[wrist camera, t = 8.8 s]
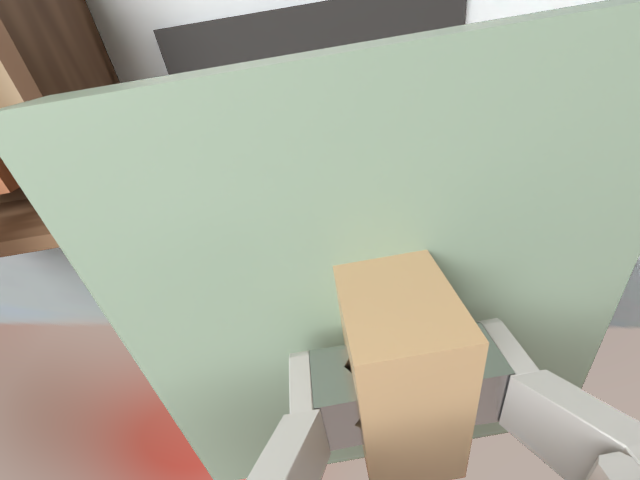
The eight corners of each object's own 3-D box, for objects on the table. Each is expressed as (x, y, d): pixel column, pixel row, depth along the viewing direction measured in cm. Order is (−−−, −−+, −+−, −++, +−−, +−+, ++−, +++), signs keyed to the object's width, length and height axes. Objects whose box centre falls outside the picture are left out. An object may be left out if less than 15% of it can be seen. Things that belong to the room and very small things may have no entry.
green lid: (642, -6, 8) (1100, -55, 4) (531, 373, 16) (632, 512, 11) (48, 95, 8) (-254, 176, 3) (224, 426, 15) (200, 588, 11)
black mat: (464, -23, 18) (468, -24, 18) (447, 239, 27) (449, 242, 27) (155, 30, 18) (153, 30, 18) (239, 274, 27) (239, 277, 27)
